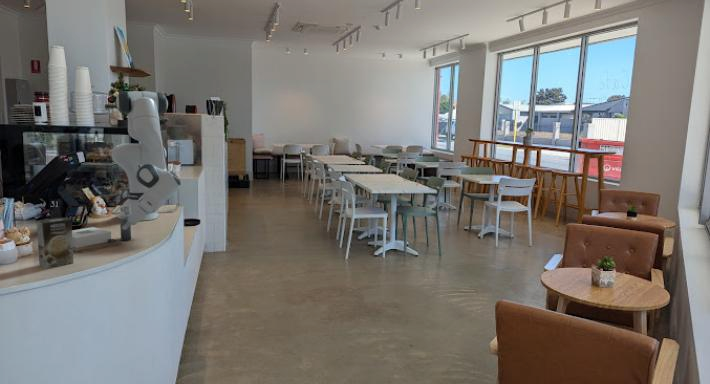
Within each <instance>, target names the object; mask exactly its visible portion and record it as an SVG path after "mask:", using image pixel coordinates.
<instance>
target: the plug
mask: <svg viewBox="0 0 710 384" xmlns="http://www.w3.org/2000/svg"><path fill="white" fill-rule="evenodd" d="M128 217H129V216H123V217H120V218H119V223H120V224H119V226H120V229H119V230H120V241H121V242H128V241H129V240H130V241H131V240H132V228H131V227H132V225H131V226H129V227H128V228H127V229H126V230H124V229H123V228H122V227H123V226H124V225H125V224H126V223H127V219H128Z"/></svg>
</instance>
